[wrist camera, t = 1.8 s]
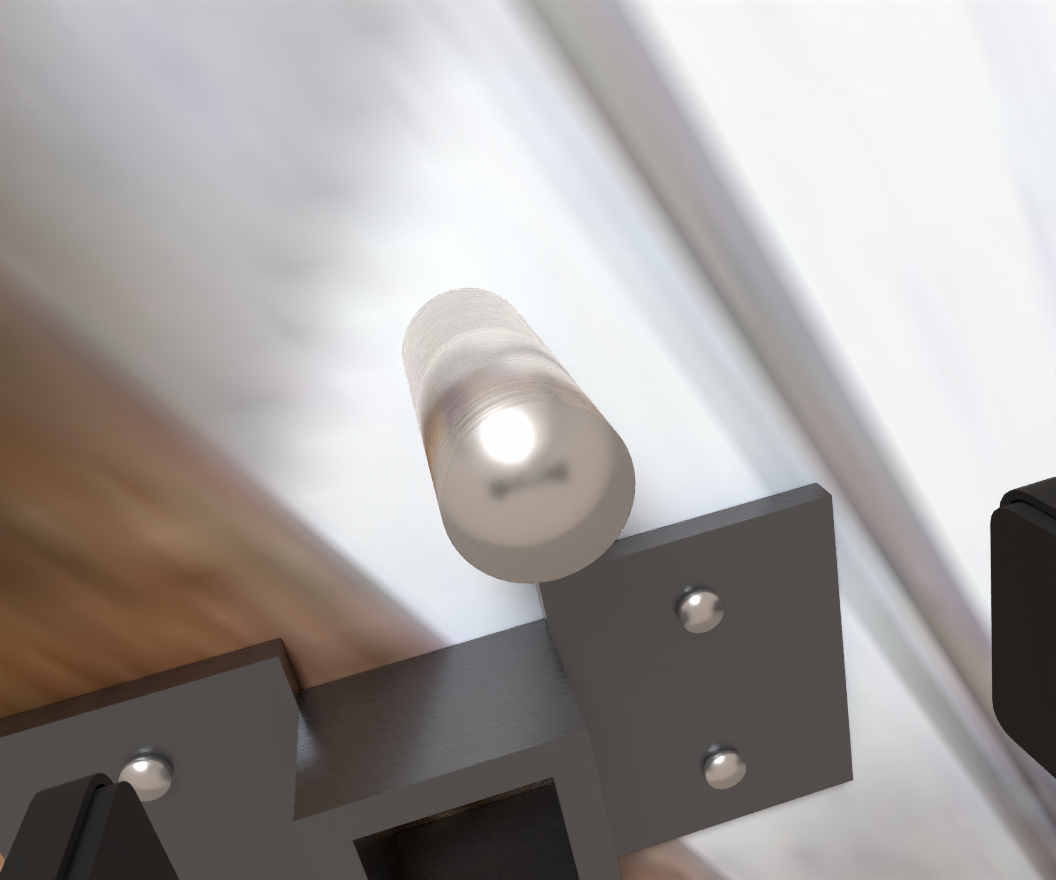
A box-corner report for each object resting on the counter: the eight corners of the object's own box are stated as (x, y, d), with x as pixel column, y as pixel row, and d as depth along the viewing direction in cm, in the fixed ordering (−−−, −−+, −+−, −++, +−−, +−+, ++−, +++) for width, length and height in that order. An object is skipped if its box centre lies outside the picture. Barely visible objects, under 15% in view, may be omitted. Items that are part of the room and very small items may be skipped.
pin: (515, 273, 20) (618, 378, 13) (541, 394, 21) (648, 552, 14) (387, 306, 20) (418, 432, 13) (420, 426, 21) (466, 606, 14)
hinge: (816, 482, 24) (916, 564, 20) (839, 761, 28) (926, 878, 24) (-46, 732, 22) (-136, 884, 17) (113, 998, 26) (71, 1173, 21)
